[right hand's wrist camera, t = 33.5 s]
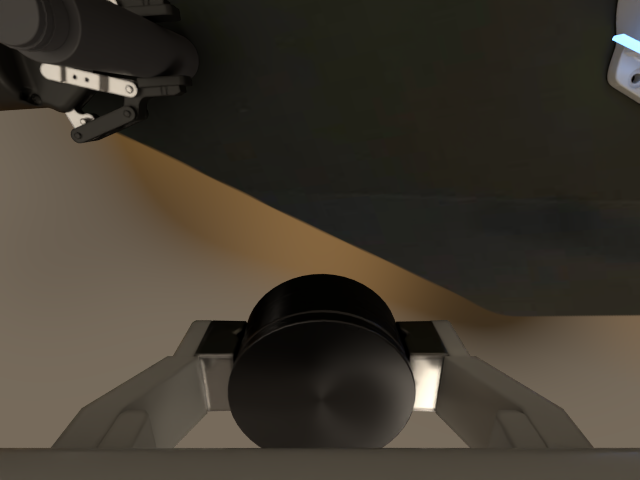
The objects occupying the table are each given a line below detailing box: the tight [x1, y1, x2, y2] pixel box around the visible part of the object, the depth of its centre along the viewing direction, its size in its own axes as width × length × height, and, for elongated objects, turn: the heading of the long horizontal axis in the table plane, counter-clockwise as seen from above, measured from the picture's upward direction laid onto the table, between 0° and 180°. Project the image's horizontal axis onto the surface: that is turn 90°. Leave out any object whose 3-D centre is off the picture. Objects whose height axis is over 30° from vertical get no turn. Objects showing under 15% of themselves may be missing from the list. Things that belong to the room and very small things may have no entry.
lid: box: [228, 274, 416, 448], centre depth 9 cm, size 4×4×2 cm
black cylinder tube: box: [0, 0, 199, 78], centre depth 24 cm, size 4×4×20 cm
